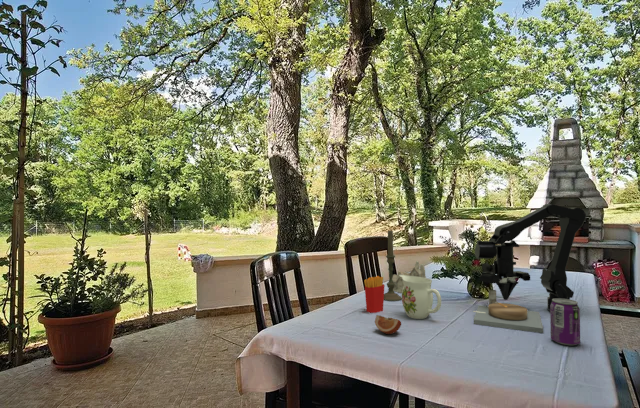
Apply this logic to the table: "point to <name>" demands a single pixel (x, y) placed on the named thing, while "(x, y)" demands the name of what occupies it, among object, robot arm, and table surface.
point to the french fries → (374, 294)
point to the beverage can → (565, 321)
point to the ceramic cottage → (414, 272)
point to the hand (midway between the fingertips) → (505, 299)
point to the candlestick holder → (390, 259)
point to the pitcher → (418, 297)
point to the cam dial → (505, 309)
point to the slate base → (509, 321)
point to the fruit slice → (387, 324)
